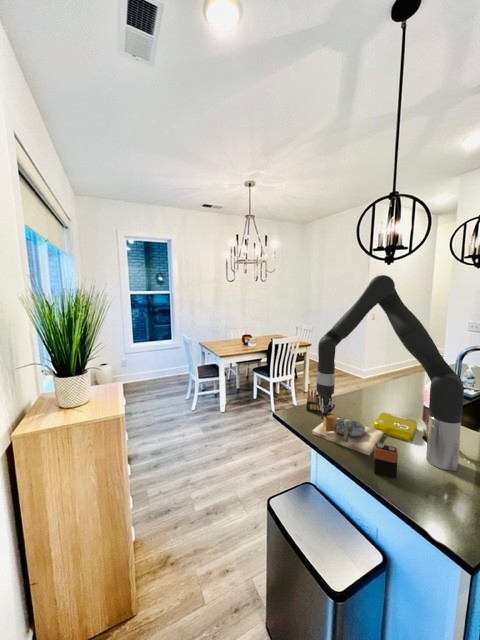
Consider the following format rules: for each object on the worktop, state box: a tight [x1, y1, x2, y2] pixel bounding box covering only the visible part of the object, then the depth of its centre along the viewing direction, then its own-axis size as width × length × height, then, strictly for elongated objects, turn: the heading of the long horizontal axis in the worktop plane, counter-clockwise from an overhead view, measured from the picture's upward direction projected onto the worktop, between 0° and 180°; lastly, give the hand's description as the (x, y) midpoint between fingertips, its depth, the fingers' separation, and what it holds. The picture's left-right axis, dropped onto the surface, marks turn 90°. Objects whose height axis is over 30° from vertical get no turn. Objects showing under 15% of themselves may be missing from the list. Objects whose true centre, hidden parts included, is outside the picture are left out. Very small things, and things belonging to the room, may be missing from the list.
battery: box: [373, 442, 399, 479], centre depth 92 cm, size 4×7×10 cm, turn 65°
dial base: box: [311, 417, 385, 457], centre depth 117 cm, size 24×20×8 cm
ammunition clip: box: [305, 388, 321, 414], centre depth 141 cm, size 11×2×12 cm, turn 69°
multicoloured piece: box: [322, 414, 365, 436], centre depth 117 cm, size 18×13×6 cm
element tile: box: [373, 412, 418, 442], centre depth 122 cm, size 15×15×5 cm
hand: (323, 419), depth 119 cm, fingers closed
